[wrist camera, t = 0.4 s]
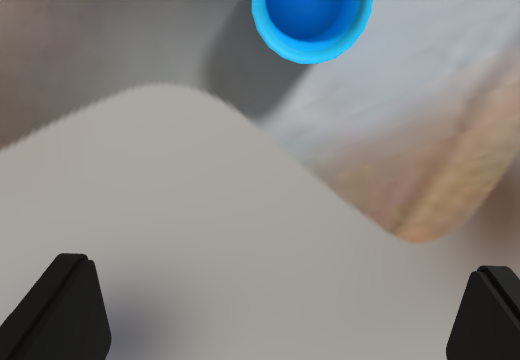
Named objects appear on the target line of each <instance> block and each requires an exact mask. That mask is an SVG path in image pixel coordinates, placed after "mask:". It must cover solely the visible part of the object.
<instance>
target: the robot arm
mask: <svg viewBox="0 0 520 360" xmlns="http://www.w3.org/2000/svg"><path fill="white" fill-rule="evenodd" d="M110 345H111V332H110V328H109V324H108V319H107V315H106V311H105V306H104V302H103V298H102V293H101V290H100V285H99V280H98V276H97V272H96V268H95V264H94V262H93V261H92V260H88V258H87V256H86V255H84V254H68V253H62V254H59V255H58V256H57V257H56V258H55V259H54V261H53V262H52V263H51V264H50V266H49V267H48V268H47V269H46V271H45V272H44V273H43V274H42V276H41V277H40V279H39V280H38V281H37V282H36V283H35V285H34V286H33V287H32V288H31V290H30V291H29V292H28V293H27V295H26V296H25V297H24V298H23V300H22V301H21V302H20V303H19V305H18V306H17V307H16V308H15V310H14V311H13V312H12V313H11V314H10V315H9V316H8V318H7V319H6V320H5V321H4V323H3V324H2V325H1V326H0V360H105V358H106V356H107V354H108V351H109V349H110ZM446 356H447V360H520V279H519V278H518V277H517V276H516V275H515V273H514V272H513V271H512V270H511V269H510V268H509V267H506V266H480V267H479V268H478V269H477V271H475V272H472V273H471V275H470V277H469V280H468V283H467V286H466V289H465V292H464V295H463V298H462V301H461V304H460V307H459V310H458V313H457V316H456V319H455V322H454V325H453V328H452V331H451V334H450V337H449V341H448V343H447V347H446Z"/></svg>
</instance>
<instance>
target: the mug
mask: <svg viewBox="0 0 520 360" xmlns="http://www.w3.org/2000/svg"><path fill="white" fill-rule="evenodd" d="M372 1H373V0H252V15H253V18H254V21H255V24H256V27H257V31H258V33H259V34H260V35H261V37H262V38H263V40H264V41H265V43H266V44H267V46H268V47H269V48H270V49H272V50H273V51H274V52H276V53H277V54H278V55H280V56H281V57H282V58H284V59H287V60H290V61H293V62H296V63H299V64H318V63H321V62H324V61H328V60H331V59H334V58H336V57H337V56H339V55H340V54H341V53H343V52H344V51H346V50H347V49H349V48H350V47H351V46H352V45H353V44H354V42H355V41H356V40H357V38H358V37H359V36H360V35H361V33H362V32H363V31H364V28H365V26H366V23H367V21H368V19H369V16H370V14H371V9H372Z"/></svg>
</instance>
